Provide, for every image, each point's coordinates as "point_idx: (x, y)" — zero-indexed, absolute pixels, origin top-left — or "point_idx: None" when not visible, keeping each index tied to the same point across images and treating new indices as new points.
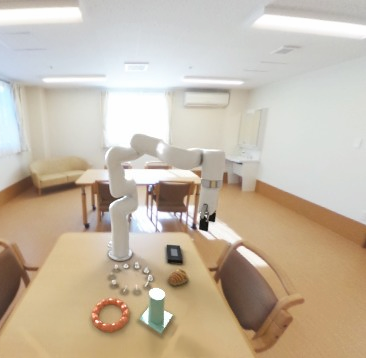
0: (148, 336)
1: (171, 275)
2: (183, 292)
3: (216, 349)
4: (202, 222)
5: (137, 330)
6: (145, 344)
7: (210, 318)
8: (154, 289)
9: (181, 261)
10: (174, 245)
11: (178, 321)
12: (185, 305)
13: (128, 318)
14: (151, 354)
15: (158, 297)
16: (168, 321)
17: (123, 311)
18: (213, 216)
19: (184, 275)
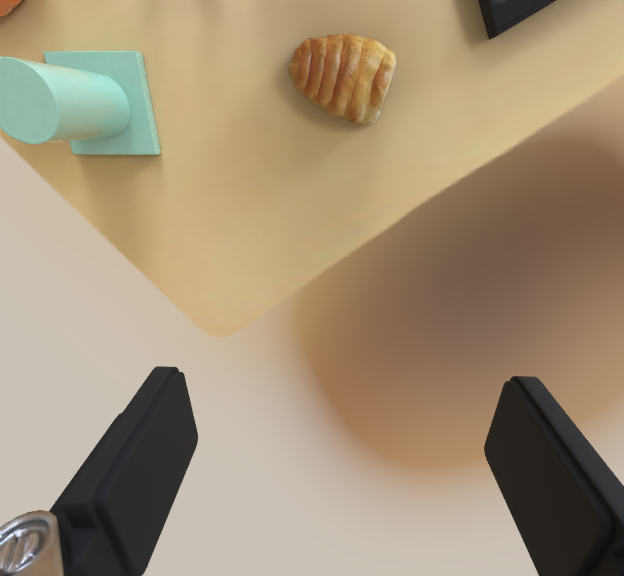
0: None
1: (325, 45)
2: (291, 136)
3: (169, 286)
4: (63, 515)
5: None
6: None
7: (244, 252)
8: (26, 74)
9: (493, 29)
10: None
11: (164, 176)
12: (237, 169)
13: (4, 10)
14: (20, 156)
15: (10, 121)
16: (124, 153)
17: None
18: (528, 524)
19: (355, 110)
